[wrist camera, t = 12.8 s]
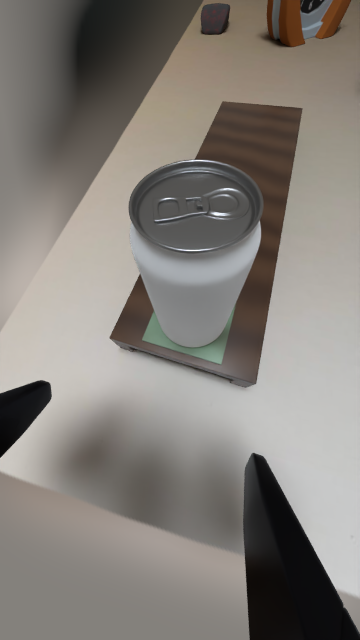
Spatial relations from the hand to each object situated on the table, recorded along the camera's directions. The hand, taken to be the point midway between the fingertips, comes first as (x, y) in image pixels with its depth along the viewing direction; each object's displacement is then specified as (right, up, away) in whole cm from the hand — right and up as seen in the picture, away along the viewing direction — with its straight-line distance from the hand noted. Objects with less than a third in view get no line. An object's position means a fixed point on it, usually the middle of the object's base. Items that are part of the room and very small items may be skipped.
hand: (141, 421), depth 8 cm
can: (+3, +5, +11) cm, 12 cm away
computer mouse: (+13, +97, +55) cm, 112 cm away
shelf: (+9, +20, +21) cm, 31 cm away
